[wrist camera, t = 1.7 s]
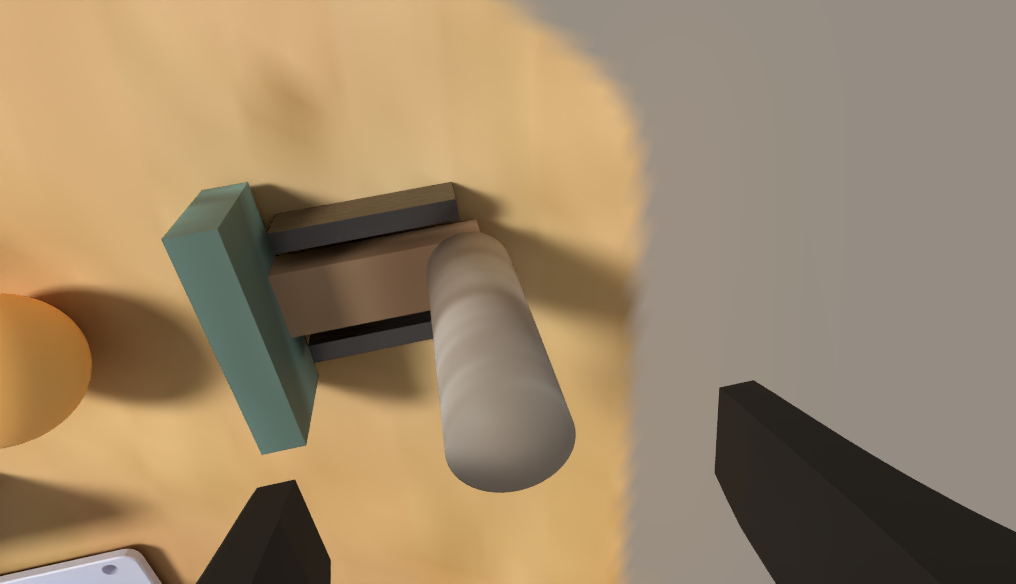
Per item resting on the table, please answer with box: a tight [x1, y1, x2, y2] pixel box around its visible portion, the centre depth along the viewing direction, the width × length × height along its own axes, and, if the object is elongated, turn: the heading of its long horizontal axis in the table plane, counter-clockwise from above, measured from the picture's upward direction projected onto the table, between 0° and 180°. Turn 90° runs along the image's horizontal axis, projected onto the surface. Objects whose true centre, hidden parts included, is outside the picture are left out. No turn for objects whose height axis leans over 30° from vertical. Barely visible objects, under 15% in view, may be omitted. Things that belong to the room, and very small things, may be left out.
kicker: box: [161, 182, 576, 493], centre depth 14 cm, size 8×6×8 cm
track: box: [267, 182, 460, 363], centre depth 18 cm, size 5×4×1 cm
